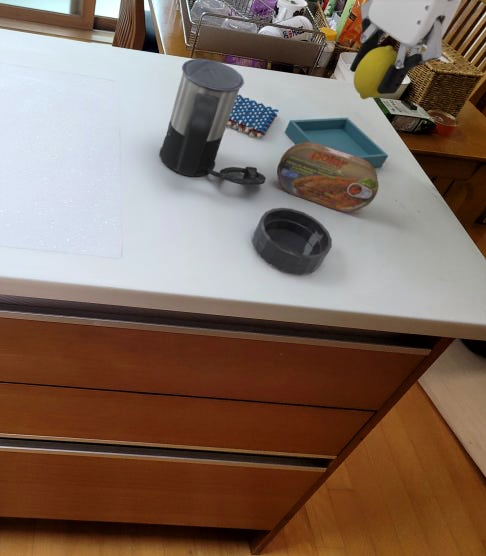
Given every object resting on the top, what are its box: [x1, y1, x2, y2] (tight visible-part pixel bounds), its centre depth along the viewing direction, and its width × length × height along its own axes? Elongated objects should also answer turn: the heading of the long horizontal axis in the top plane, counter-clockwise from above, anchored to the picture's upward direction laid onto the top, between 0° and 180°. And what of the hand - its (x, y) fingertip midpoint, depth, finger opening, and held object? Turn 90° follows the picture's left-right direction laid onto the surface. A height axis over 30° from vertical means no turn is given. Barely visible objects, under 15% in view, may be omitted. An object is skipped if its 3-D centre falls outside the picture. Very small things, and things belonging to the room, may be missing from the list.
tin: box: [276, 142, 379, 213], centre depth 84 cm, size 15×3×8 cm, turn 68°
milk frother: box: [159, 58, 267, 186], centre depth 82 cm, size 14×16×15 cm
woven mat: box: [227, 94, 279, 139], centre depth 100 cm, size 10×11×2 cm
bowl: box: [252, 207, 333, 275], centre depth 76 cm, size 10×10×4 cm
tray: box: [284, 117, 389, 169], centre depth 98 cm, size 13×12×2 cm
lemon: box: [353, 45, 398, 100], centre depth 79 cm, size 6×6×8 cm
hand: (372, 80), depth 80 cm, fingers closed on lemon, 5 cm apart
